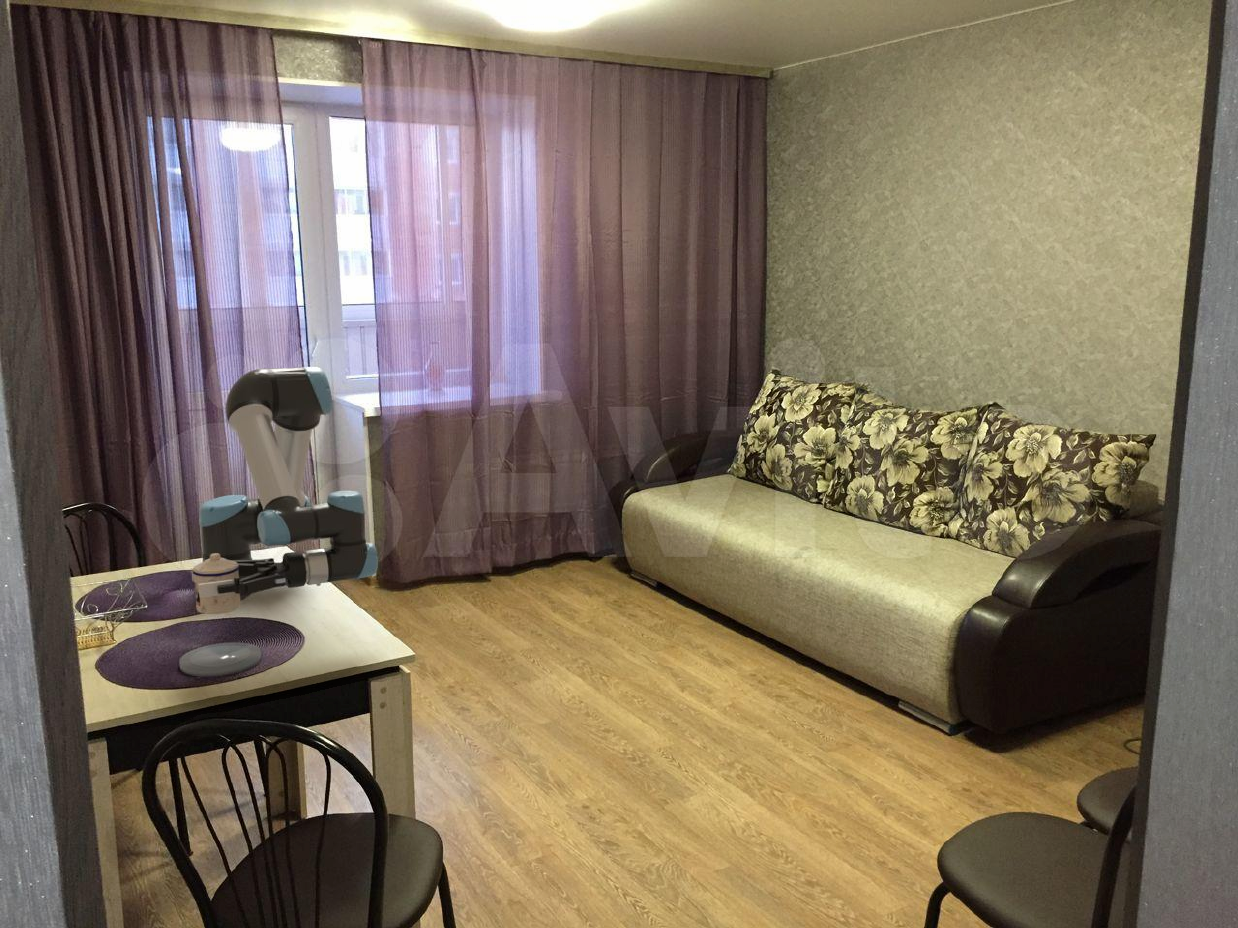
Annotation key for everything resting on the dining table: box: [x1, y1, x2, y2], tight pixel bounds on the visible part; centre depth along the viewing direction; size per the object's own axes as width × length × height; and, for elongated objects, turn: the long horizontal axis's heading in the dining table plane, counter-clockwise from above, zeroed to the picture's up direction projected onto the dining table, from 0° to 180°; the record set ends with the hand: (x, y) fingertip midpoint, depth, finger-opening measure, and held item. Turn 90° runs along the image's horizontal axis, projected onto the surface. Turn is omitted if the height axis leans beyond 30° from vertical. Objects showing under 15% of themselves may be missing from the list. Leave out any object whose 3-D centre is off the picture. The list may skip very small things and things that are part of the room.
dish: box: [178, 641, 262, 678], centre depth 216 cm, size 16×16×1 cm
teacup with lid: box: [191, 553, 242, 615], centre depth 212 cm, size 12×9×12 cm
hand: (195, 582), depth 211 cm, fingers closed on teacup with lid, 11 cm apart
